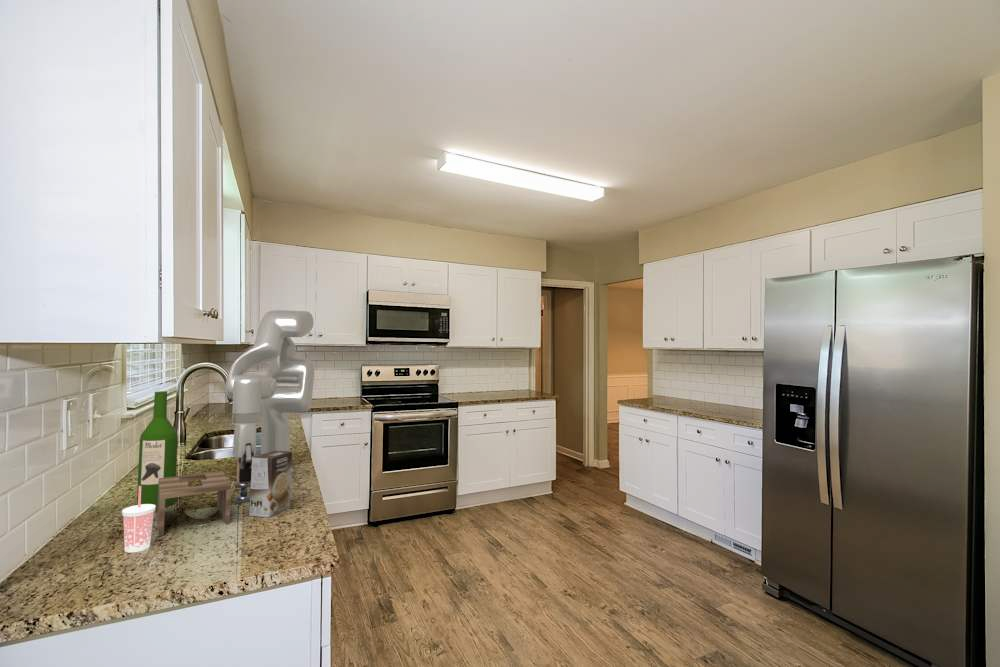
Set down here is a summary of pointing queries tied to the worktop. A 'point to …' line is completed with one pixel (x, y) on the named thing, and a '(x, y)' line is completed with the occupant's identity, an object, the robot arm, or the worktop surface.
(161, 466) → the wine bottle
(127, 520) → the beverage cup
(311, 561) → the worktop surface
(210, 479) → the keyhole plate
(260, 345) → the robot arm
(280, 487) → the coffee box
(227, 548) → the worktop surface
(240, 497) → the keyhole pin
